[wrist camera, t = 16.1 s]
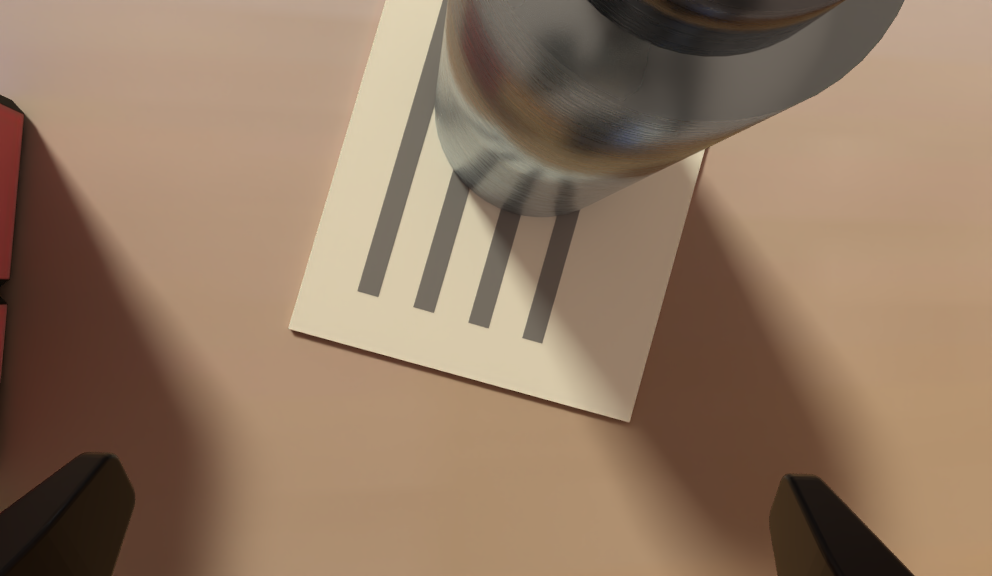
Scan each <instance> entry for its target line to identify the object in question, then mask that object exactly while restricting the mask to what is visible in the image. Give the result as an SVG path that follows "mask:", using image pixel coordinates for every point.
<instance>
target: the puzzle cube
mask: <svg viewBox="0 0 992 576" xmlns="http://www.w3.org/2000/svg"><path fill="white" fill-rule="evenodd" d="M23 120H24V113H23V112H22V111H21V110H20V109H19V108H18V106H17V105H16V104H15V103H14V102H13V101H12V100H10V99H8V98H6V97H4V96H2V95H0V287H1V286H2V285H3V284H4V283H6V282H7V281H8V280H9V279H10V268H11V257H12V245H13V234H14V222H15V211H16V200H17V188H18V177H19V166H20V154H21V143H22V132H23ZM6 313H7V303H6V302H5V301H4V300H3V299H2V297H1V296H0V381H1V370H2V359H3V347H4V336H5V325H6Z"/></svg>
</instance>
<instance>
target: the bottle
mask: <svg viewBox="0 0 992 576" xmlns="http://www.w3.org/2000/svg"><path fill="white" fill-rule="evenodd" d="M903 2H904V0H448V3H447V11H446V19H445V26H444V34H443V41H442V49H441V57H440V64H439V72H438V80H437V87H436V96H435V123H436V128H437V134H438V138H439V141H440V144H441V147H442V150H443V152H444V154H445V156H446V158H447V160H448V162H449V164H450V165H451V167H452V168H453V170H454V172H455V173H456V174H457V175H458V177H459V178H460V179H461V180H462V182H463V183H464V184H465V185H466V186H467V187H468V188H469V189H471V190H472V191H473V192H474V193H475V194H476V195H478V196H479V197H480V198H482V199H483V200H485V201H486V202H488V203H490V204H492V205H494V206H495V207H497V208H500V209H502V210H505V211H508V212H510V213H514V214H518V215H523V216H530V217H553V216H559V215H565V214H568V213H571V212H575V211H578V210H580V209H582V208H584V207H586V206H589V205H591V204H593V203H595V202H597V201H599V200H601V199H603V198H605V197H607V196H609V195H611V194H613V193H615V192H617V191H619V190H622V189H624V188H626V187H628V186H630V185H632V184H634V183H636V182H638V181H640V180H642V179H644V178H646V177H648V176H650V175H652V174H654V173H657V172H659V171H661V170H663V169H665V168H667V167H669V166H671V165H673V164H675V163H677V162H679V161H681V160H683V159H685V158H687V157H689V156H692V155H694V154H696V153H698V152H700V151H702V150H704V149H706V148H708V147H710V146H712V145H714V144H716V143H718V142H720V141H722V140H724V139H726V138H729V137H731V136H733V135H735V134H737V133H739V132H741V131H743V130H745V129H747V128H749V127H751V126H753V125H755V124H757V123H759V122H761V121H764V120H766V119H768V118H770V117H772V116H774V115H776V114H778V113H780V112H782V111H784V110H786V109H788V108H790V107H792V106H794V105H796V104H799V103H801V102H803V101H805V100H807V99H809V98H811V97H813V96H815V95H817V94H819V93H820V92H822V91H823V90H825V89H826V88H828V87H829V86H831V85H832V84H834V83H835V82H837V81H839V80H840V79H841V78H843V77H844V76H845V75H846V74H847V73H848V72H850V71H851V70H852V69H853V68H854V67H855V66H856V65H858V64H859V63H860V62H861V61H862V60H863V59H864V58H865V57H866V56H867V55H868V53H869V52H870V51H871V50H872V49H873V48H874V47H875V45H876V44H877V43H878V42H879V41H880V40H881V39H882V37H883V36H884V34H885V33H886V31H887V30H888V28H889V27H890V25H891V24H892V22H893V21H894V19H895V18H896V16H897V14H898V12H899V10H900V8H901V6H902V4H903Z"/></svg>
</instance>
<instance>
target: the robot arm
mask: <svg viewBox="0 0 992 576" xmlns="http://www.w3.org/2000/svg"><path fill="white" fill-rule="evenodd" d="M134 504H135V492H134V488H133V486H132V484H131V482H130V480H129V478H128V476H127V474H126V472H125V470H124V468H123V466H122V464H121V462H120V460H119V458H118V457H117V456H116V455H115V454H113V453H102V452H87V453H83V454H81V455H79V456H77V457H76V458H74V459H73V460H72V461H70V462H69V463H68V464H66V465H65V466H63V467H62V468H61V469H59V470H58V471H57V472H55V473H54V474H53V475H51V476H50V477H49V478H47V479H46V480H45V481H43V482H42V483H40V484H39V485H38V486H36V487H35V488H34V489H32V490H31V491H30V492H28V493H27V494H26V495H24V496H23V497H22V498H20V499H19V500H17V501H16V502H15V503H13V504H12V505H11V506H9V507H8V508H7V509H5V510H4V511H3V512H1V513H0V576H112V574H113V571H114V568H115V565H116V561H117V558H118V555H119V552H120V549H121V546H122V543H123V540H124V537H125V534H126V531H127V528H128V524H129V521H130V518H131V515H132V512H133V509H134ZM769 526H770V534H771V539H772V545H773V551H774V557H775V563H776V569H777V575H778V576H914V575H913V574H912V573H911V571H910V570H909V569H908V568H907V567H906V566H905V565H904V564H903V563H902V562H901V561H900V560H899V559H898V558H897V557H896V556H895V555H894V554H893V553H892V552H891V551H890V550H889V549H888V548H887V547H886V546H885V544H884V543H883V542H882V541H881V540H880V539H879V538H878V537H877V536H876V535H875V534H874V533H873V532H872V531H871V530H870V529H869V528H868V527H867V526H866V525H865V524H864V523H863V522H862V521H861V520H860V518H859V517H858V516H857V515H856V514H855V513H854V512H853V511H852V510H851V509H850V508H849V507H848V506H847V505H846V504H845V503H844V502H843V501H842V500H841V499H840V498H839V497H838V496H837V495H836V494H835V493H834V491H833V490H832V489H831V488H830V487H829V486H828V485H827V484H826V483H825V482H824V481H823V480H822V479H821V478H819V477H818V476H816V475H812V474H786V475H785V476H784V477H783V478H782V480H781V482H780V485H779V487H778V490H777V493H776V496H775V499H774V502H773V505H772V508H771V511H770V516H769Z"/></svg>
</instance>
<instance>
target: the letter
mask: <svg viewBox="0 0 992 576" xmlns="http://www.w3.org/2000/svg"><path fill="white" fill-rule="evenodd" d="M447 3H448V0H386V2H385V5H384V8H383V12H382V15H381V18H380V22H379V25H378V29H377V32H376V35H375V39H374V42H373V45H372V49H371V52H370V55H369V59H368V62H367V65H366V69H365V72H364V76H363V79H362V82H361V86H360V89H359V92H358V96H357V99H356V102H355V106H354V109H353V113H352V116H351V119H350V123H349V126H348V129H347V133H346V136H345V139H344V143H343V146H342V149H341V153H340V156H339V160H338V163H337V166H336V170H335V173H334V176H333V180H332V183H331V186H330V190H329V193H328V197H327V200H326V203H325V207H324V210H323V213H322V217H321V220H320V223H319V227H318V230H317V233H316V237H315V240H314V244H313V247H312V250H311V254H310V257H309V260H308V264H307V267H306V270H305V274H304V277H303V281H302V284H301V287H300V291H299V294H298V297H297V301H296V304H295V307H294V311H293V314H292V317H291V321H290V324H289V328H288V329H291V330H295V331H298V332H302V333H306V334H309V335H313V336H317V337H320V338H324V339H327V340H331V341H335V342H338V343H342V344H346V345H349V346H353V347H357V348H360V349H364V350H367V351H371V352H375V353H378V354H382V355H386V356H389V357H393V358H397V359H400V360H404V361H408V362H411V363H415V364H418V365H422V366H426V367H429V368H433V369H437V370H440V371H444V372H448V373H451V374H455V375H458V376H462V377H466V378H469V379H473V380H477V381H480V382H484V383H488V384H491V385H495V386H498V387H502V388H506V389H509V390H513V391H517V392H520V393H524V394H528V395H531V396H535V397H539V398H542V399H546V400H549V401H553V402H557V403H560V404H564V405H568V406H571V407H575V408H579V409H582V410H586V411H589V412H593V413H597V414H600V415H604V416H608V417H611V418H615V419H619V420H622V421H626V422H630V419H631V415H632V411H633V408H634V404H635V401H636V397H637V393H638V390H639V386H640V383H641V379H642V375H643V372H644V368H645V364H646V361H647V357H648V354H649V350H650V346H651V343H652V339H653V335H654V332H655V328H656V325H657V321H658V317H659V314H660V310H661V307H662V303H663V299H664V296H665V292H666V288H667V285H668V281H669V278H670V274H671V270H672V267H673V263H674V260H675V256H676V252H677V249H678V245H679V241H680V238H681V234H682V231H683V227H684V223H685V220H686V216H687V213H688V209H689V205H690V202H691V198H692V194H693V191H694V187H695V184H696V180H697V176H698V173H699V169H700V166H701V162H702V158H703V155H704V151H705V149H704V150H702V151H700V152H698V153H696V154H694V155H692V156H689V157H687V158H685V159H683V160H681V161H679V162H677V163H675V164H673V165H671V166H669V167H667V168H665V169H663V170H661V171H659V172H657V173H654V174H652V175H650V176H648V177H646V178H644V179H642V180H640V181H638V182H636V183H634V184H632V185H630V186H628V187H626V188H624V189H622V190H619V191H617V192H615V193H613V194H611V195H609V196H607V197H605V198H603V199H601V200H599V201H597V202H595V203H593V204H591V205H589V206H586V207H584V208H582V209H580V210H578V211H575V212H571V213H568V214H565V215H559V216H553V217H530V216H523V215H518V214H514V213H510V212H508V211H505V210H502V209H500V208H497V207H495V206H494V205H492V204H490V203H488V202H486V201H485V200H483V199H482V198H480V197H479V196H478V195H476V194H475V193H474V192H473V191H472V190H471V189H469V188H468V187H467V186H466V185H465V184H464V183H463V182H462V180H461V179H460V178H459V177H458V175H457V174H456V173H455V172H454V170H453V168H452V167H451V165H450V164H449V162H448V160H447V158H446V156H445V154H444V152H443V150H442V147H441V144H440V141H439V138H438V134H437V128H436V123H435V96H436V87H437V80H438V72H439V64H440V57H441V49H442V41H443V34H444V26H445V19H446V11H447Z"/></svg>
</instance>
